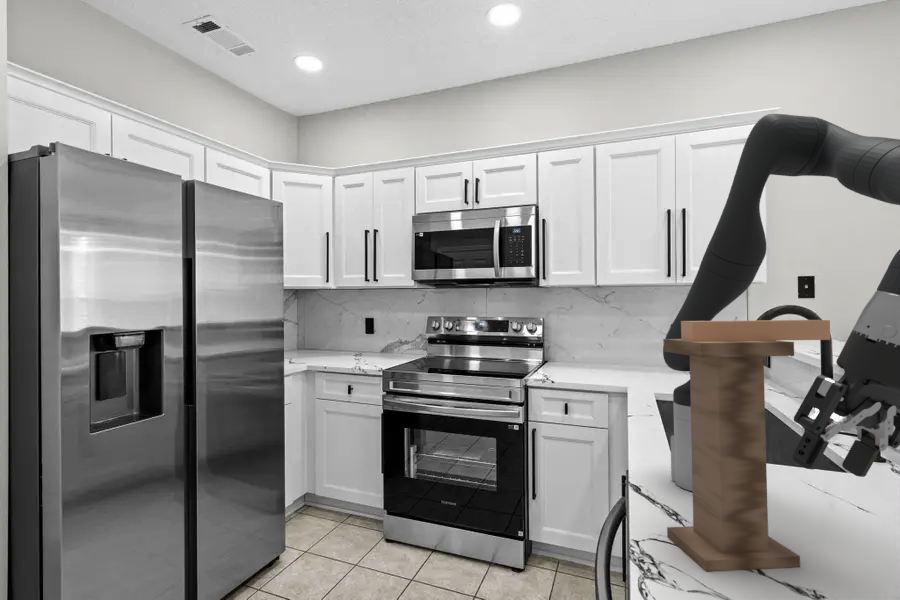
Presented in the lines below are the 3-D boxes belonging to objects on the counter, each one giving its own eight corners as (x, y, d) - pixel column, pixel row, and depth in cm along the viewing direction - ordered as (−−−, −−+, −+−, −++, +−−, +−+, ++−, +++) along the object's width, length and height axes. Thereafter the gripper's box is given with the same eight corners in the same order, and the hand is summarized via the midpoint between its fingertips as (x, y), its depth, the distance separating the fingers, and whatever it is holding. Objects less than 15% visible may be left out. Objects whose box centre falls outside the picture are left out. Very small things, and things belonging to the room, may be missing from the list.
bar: (813, 338, 73) (813, 319, 73) (830, 339, 70) (829, 320, 70) (681, 340, 72) (681, 321, 72) (692, 341, 69) (692, 321, 69)
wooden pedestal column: (749, 533, 75) (744, 338, 76) (800, 566, 65) (793, 341, 66) (667, 536, 74) (663, 339, 75) (706, 571, 64) (700, 343, 65)
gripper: (898, 340, 55) (835, 456, 59) (817, 316, 51) (755, 442, 54) (980, 366, 48) (903, 496, 52) (894, 341, 44) (817, 484, 47)
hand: (827, 468), depth 53 cm, fingers open, 8 cm apart
